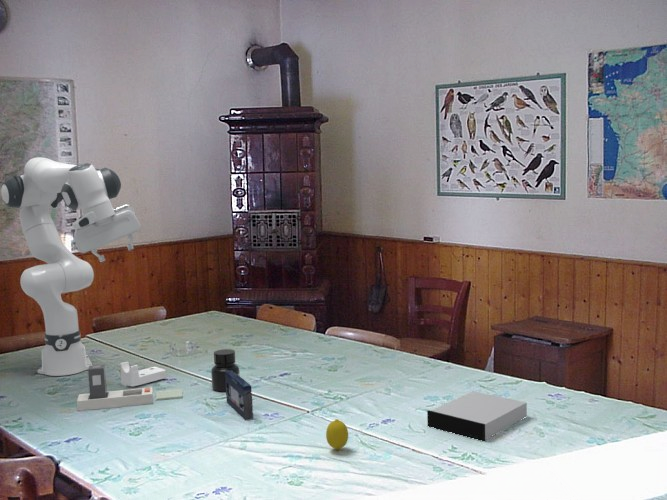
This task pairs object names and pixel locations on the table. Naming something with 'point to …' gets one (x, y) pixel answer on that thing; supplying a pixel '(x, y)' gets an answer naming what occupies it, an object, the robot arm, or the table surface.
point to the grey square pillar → (97, 381)
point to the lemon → (337, 434)
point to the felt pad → (169, 394)
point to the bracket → (140, 374)
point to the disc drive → (477, 415)
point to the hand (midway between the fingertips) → (117, 255)
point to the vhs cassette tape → (239, 395)
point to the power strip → (116, 399)
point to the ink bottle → (223, 368)
